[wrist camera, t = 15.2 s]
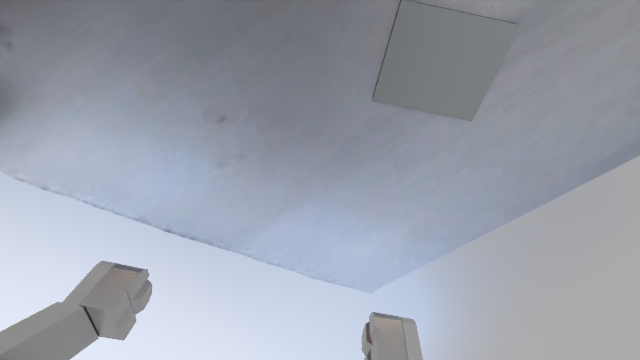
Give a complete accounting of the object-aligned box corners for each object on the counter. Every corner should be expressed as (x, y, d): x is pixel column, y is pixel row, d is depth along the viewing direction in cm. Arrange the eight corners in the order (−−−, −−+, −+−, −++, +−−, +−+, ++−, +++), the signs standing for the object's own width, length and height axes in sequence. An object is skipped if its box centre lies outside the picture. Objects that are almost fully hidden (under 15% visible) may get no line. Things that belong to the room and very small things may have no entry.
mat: (372, 99, 41) (372, 100, 40) (401, -1, 34) (401, -1, 33) (470, 119, 41) (471, 121, 41) (518, 24, 34) (520, 25, 34)
